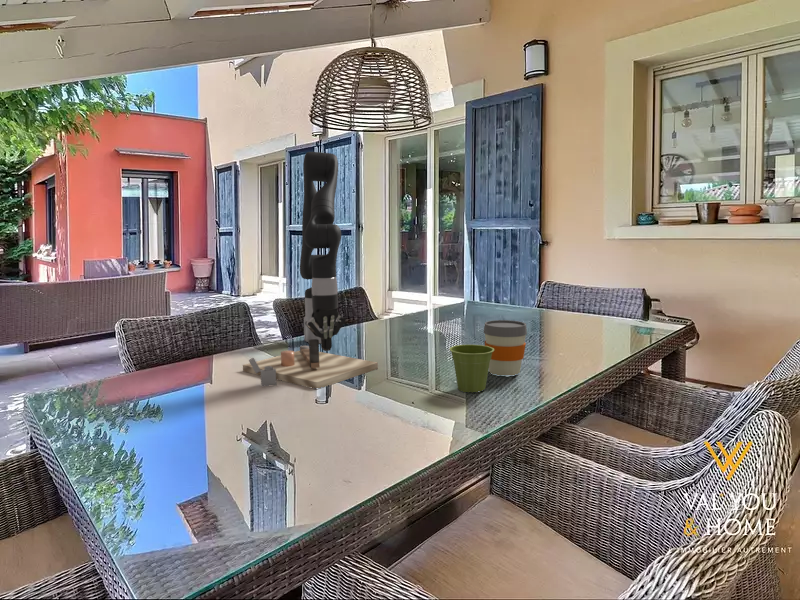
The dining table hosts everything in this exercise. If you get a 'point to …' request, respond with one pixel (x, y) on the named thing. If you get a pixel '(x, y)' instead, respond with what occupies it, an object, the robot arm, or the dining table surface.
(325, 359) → the board
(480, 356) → the plant pot
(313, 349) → the lever
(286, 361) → the peach rounded cube
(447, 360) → the dining table surface
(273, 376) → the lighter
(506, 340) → the reusable coffee cup
